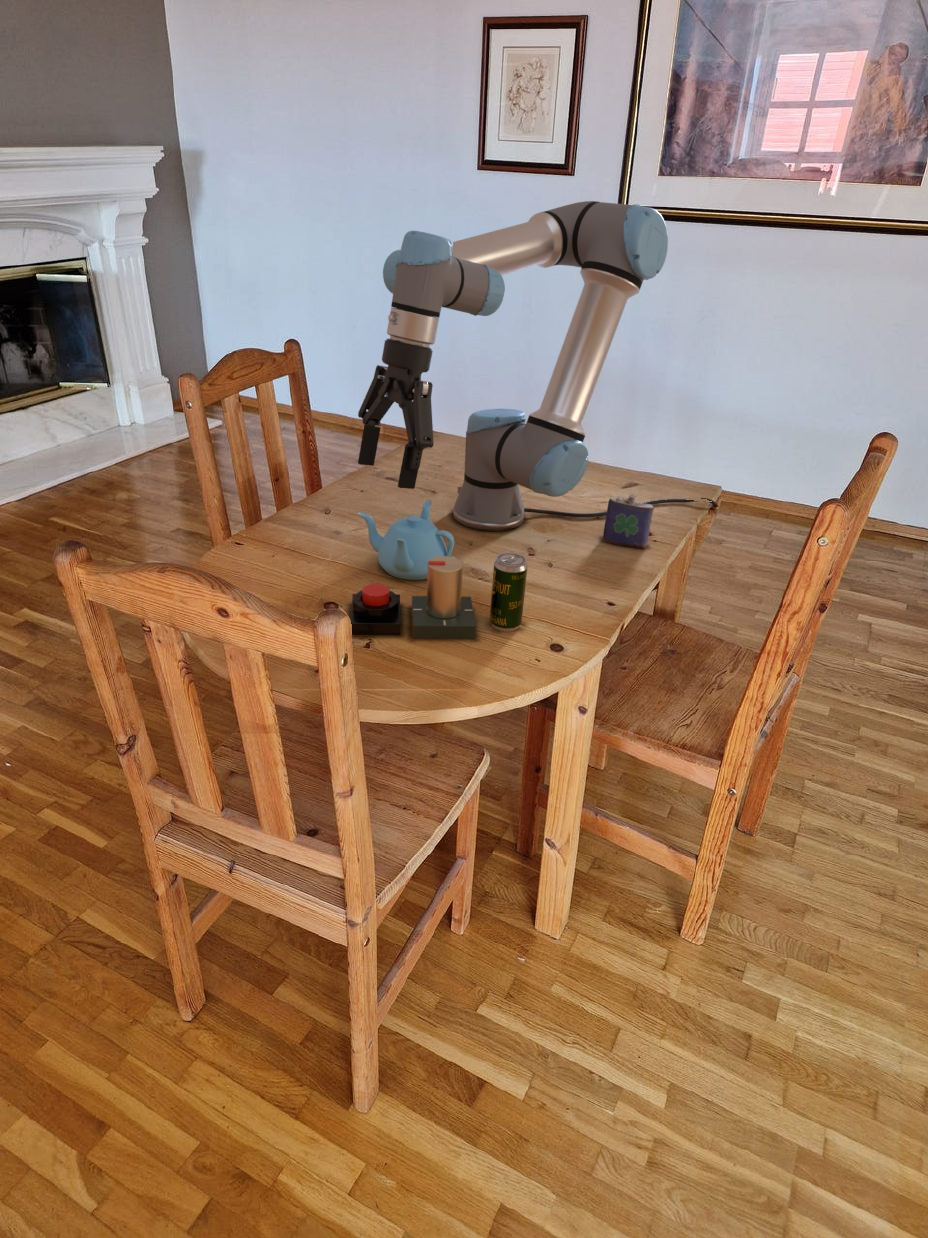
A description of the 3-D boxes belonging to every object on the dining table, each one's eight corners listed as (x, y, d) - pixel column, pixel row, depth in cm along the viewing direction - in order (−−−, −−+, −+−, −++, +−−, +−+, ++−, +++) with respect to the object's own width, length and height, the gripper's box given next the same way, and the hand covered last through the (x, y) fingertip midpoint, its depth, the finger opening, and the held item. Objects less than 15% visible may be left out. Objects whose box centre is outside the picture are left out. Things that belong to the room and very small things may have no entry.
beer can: (502, 613, 139) (508, 549, 133) (527, 624, 136) (534, 559, 130) (482, 624, 135) (487, 558, 129) (508, 636, 132) (514, 569, 126)
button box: (399, 605, 139) (400, 584, 137) (400, 635, 130) (400, 614, 128) (352, 605, 138) (352, 584, 136) (350, 635, 129) (349, 613, 127)
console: (469, 609, 139) (470, 595, 138) (475, 639, 130) (476, 625, 129) (411, 608, 138) (412, 594, 137) (412, 639, 129) (413, 624, 128)
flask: (647, 545, 167) (656, 496, 162) (645, 550, 165) (653, 500, 159) (603, 536, 170) (611, 487, 165) (600, 541, 168) (608, 492, 162)
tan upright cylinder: (458, 602, 136) (461, 554, 131) (461, 618, 131) (464, 570, 126) (425, 601, 135) (427, 554, 131) (426, 618, 130) (428, 569, 126)
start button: (389, 594, 134) (389, 583, 133) (389, 607, 131) (389, 596, 130) (362, 594, 134) (362, 583, 133) (361, 607, 130) (361, 595, 129)
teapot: (465, 577, 150) (469, 525, 145) (392, 593, 143) (393, 539, 137) (427, 546, 160) (429, 498, 155) (358, 560, 153) (357, 509, 148)
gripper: (351, 325, 132) (331, 453, 139) (431, 351, 114) (403, 497, 121) (391, 333, 136) (369, 457, 144) (474, 359, 118) (444, 499, 126)
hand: (385, 475), depth 133 cm, fingers open, 13 cm apart
